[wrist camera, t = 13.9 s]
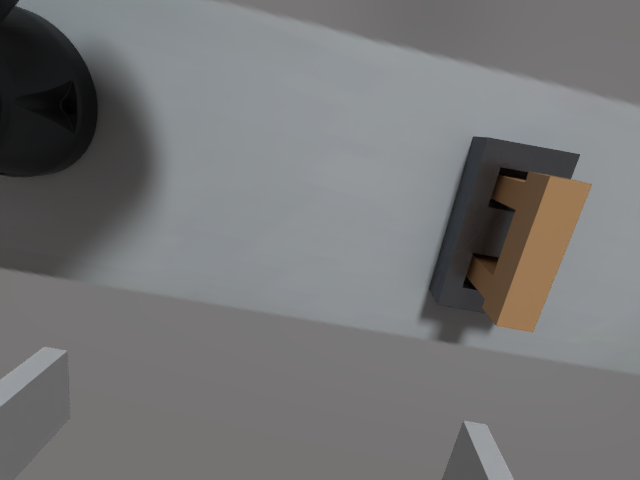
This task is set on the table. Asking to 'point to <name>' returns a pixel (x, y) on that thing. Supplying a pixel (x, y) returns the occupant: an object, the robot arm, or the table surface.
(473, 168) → the slotted gray block
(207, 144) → the table surface
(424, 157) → the table surface
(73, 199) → the table surface
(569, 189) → the notched wooden block
